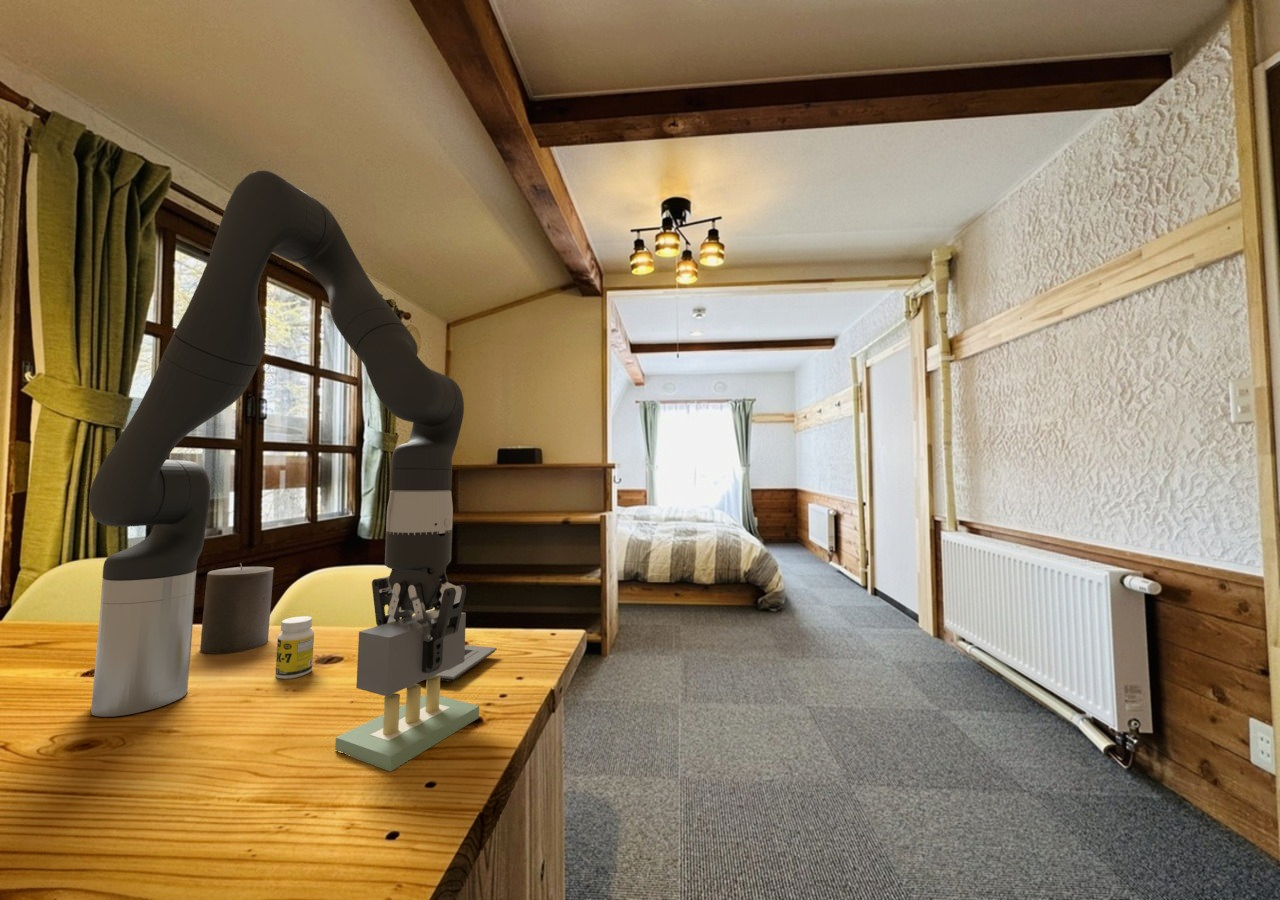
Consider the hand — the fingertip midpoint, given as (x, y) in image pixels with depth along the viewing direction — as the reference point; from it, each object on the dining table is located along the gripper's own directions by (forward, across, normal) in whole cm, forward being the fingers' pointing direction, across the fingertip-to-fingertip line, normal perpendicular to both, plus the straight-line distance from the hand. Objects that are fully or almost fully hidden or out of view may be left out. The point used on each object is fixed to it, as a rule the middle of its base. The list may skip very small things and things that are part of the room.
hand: (414, 666), depth 59 cm
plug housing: (+1, 0, 0) cm, 1 cm away
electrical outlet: (+9, -12, +17) cm, 23 cm away
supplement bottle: (+8, -32, +5) cm, 33 cm away
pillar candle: (+8, -56, +8) cm, 57 cm away
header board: (+8, 0, 0) cm, 8 cm away
